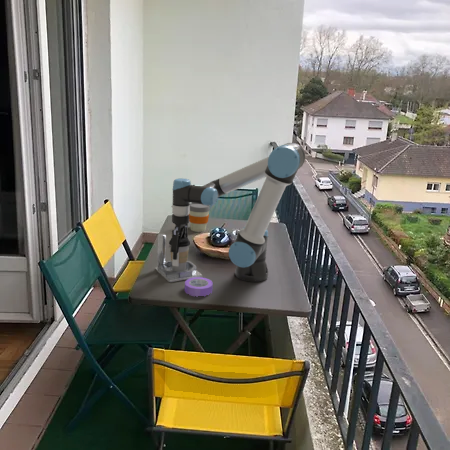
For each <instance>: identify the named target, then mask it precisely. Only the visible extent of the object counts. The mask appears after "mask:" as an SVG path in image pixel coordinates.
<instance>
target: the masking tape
mask: <svg viewBox="0 0 450 450" xmlns="http://www.w3.org/2000/svg"><path fill="white" fill-rule="evenodd" d="M213 284H214V283H213V281H212V280H211V279H209V278H206V277H203V276H202V277H194V278H190V279H187V280H184V292H185V293H186V294H187V295H188V294H189V296H192V297H195V296H196V298H199V297H198V296H204V297H207V296H206V295H208V296H210V295H211V294H212V293H213V288H214V287H213V286H214V285H213ZM210 293H211V294H210ZM209 294H210V295H209Z"/></svg>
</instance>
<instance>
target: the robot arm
mask: <svg viewBox="0 0 450 450" xmlns="http://www.w3.org/2000/svg"><path fill="white" fill-rule="evenodd" d="M305 160H306V153H305V151H304V149H303V147H302V146H300V145H299V144H298V143H295V142H287V143H284V144H281V145H278V146H277V147H275V148H274V149H272V151H271V152H270V153H269V155H268V156H267V157H264V158H263V159H260V160H258V161H255V162H253V163H252V164H249V165H246V166H244V167H242V168H240V169H237V170H235V171H233V172H231V173H228V174H226V175H224V176H222V177H219V178H218V179H215V180H212V181H210V182H209V183H206V184H204V185H202V186H201V185H194V184H192V182H191V180H190V179H187V178H183V177H182V178H176V179H174V180H173V184H172V204H171V207H170V208H172V210H171V211H172V215H171V223H173V224H174V225H175V226H174V229H172V231H171V232H172V233H171V234H172V235H171V238H172V243H171V247H170V248H171V252H173V259H172V266H179V252H178V250H179V243H180V239H181V238H182V237H184V238H185V237H186V238H188V239H189V229H188V227H189V226H188V225H189V224H190V221H189V212H190V203H196V204H202V205H210V206H211V207H212V206H215V205H216V203H217V202H218V198H220V197H221V196H224V195H226V194H229V193H231V192H233V191H236V190H238V189H241V188H244V187H245V186H249V185H250V184H253V183H256V182H258V181H260V180H262V179H265V180H264V182H263V185H262V187H261V189H260V192H259V193H258V196H257V198H256V201H255V203H254V205H253V208H252V209H251V211H250V214H249V216H248V219H247V221H246V223H245V225H244V226H243V228H240V229H239V231H238V232H237V235H236V237H235V240H234V242H232V243H231V245H230V246H229V248H228V257H229V259H230V261H231V262H232V263H233V264H234V265H235V266H236V267H235V271H234V275H235V277H236V278H238V279H240V280H241V281H245V282H250V283H252V282H253V283H255V282H257V283H258V282H264V281H266V280H268V278H269V269H268V265H267V261H266V259H267V251H268V241H269V230H268V227H269V224H271V223H270V222H271V220H272V217H273V216H274V214H275V212H276V210H277V207H278V205H279V203H280V200H281V198H282V196H283V194H284V191H286V187H287V186H290V185H292V184H293V181H294V179H295V177H296V175H297V173H298V171H299V170H300V169H301V168H302V167H303V165H304V163H305ZM171 252H170V253H171Z"/></svg>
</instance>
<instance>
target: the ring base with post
mask: <svg viewBox="0 0 450 450" xmlns="http://www.w3.org/2000/svg"><path fill="white" fill-rule="evenodd" d="M166 247H167V234H166V233H158V234H157V260H156V261H157V262H156V263H157V264H156V265H157V266H155V270H156V271H157V272H158V273H159V274H160V275H161V276H162V277H163V278H164V279H165V280H167V282H169V283H174V282H175V283H176V282H180V281H186V280H187V279H190V278H194V277H202V278H203V274H202V273H201V272H199V271H198V270H197V265H196V264H194V263H193V262H192V261H190V260H187V263H186V269H185V271H182V272H177V271H172V261H171V260H166V257H167V256H166V254H167V253H166V252H167V251H166V250H167V248H166Z"/></svg>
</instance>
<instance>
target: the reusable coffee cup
mask: <svg viewBox="0 0 450 450" xmlns="http://www.w3.org/2000/svg"><path fill="white" fill-rule="evenodd" d="M210 206H211V205H202V204H196V203H190V212H189V226H190V230H191V231H192V232H199V233H200V232H201V233H202V232H205V231H206V230H207V226H208V225H207V224H208V222H209V217H210V214H209V213H210V211H211V207H210Z"/></svg>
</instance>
